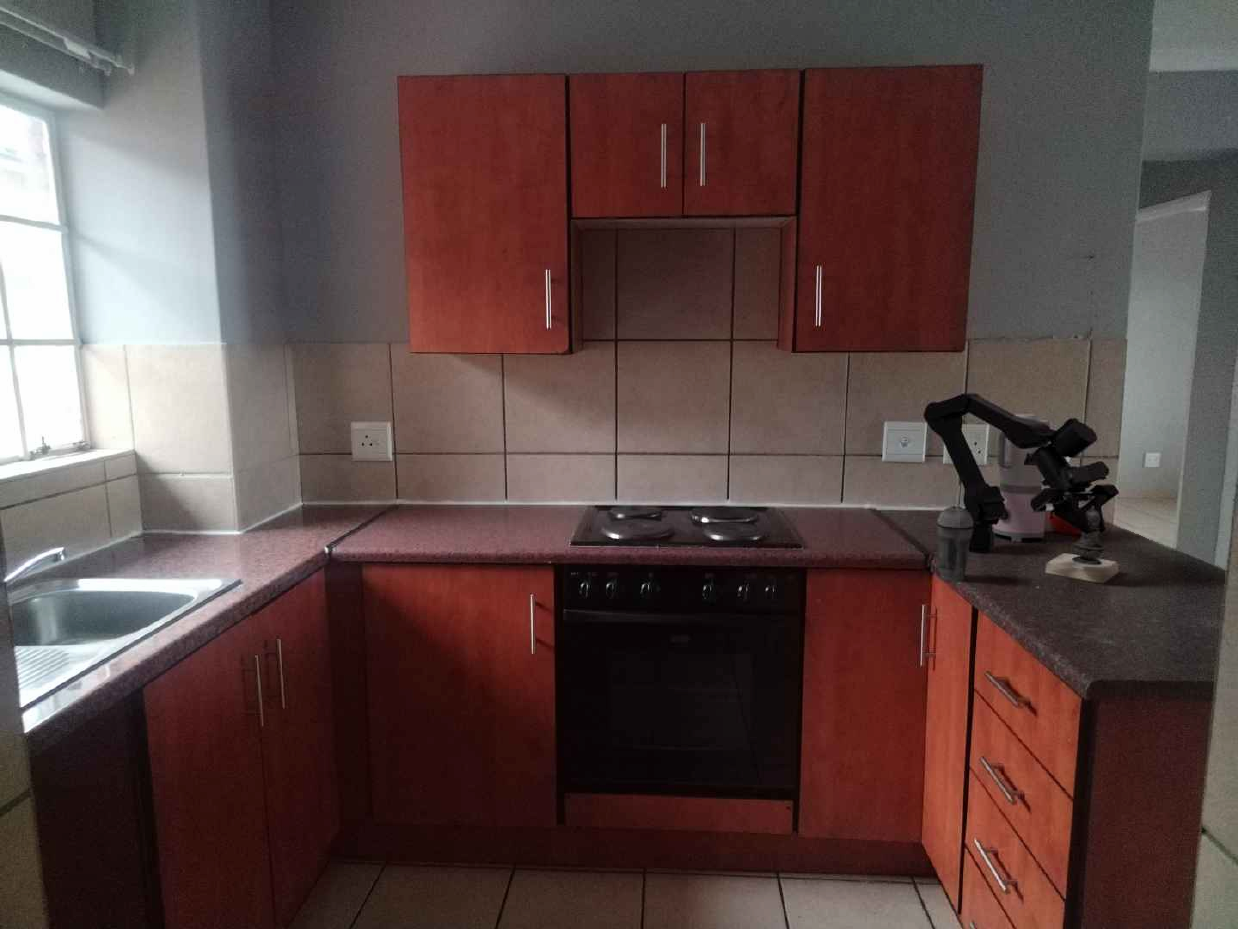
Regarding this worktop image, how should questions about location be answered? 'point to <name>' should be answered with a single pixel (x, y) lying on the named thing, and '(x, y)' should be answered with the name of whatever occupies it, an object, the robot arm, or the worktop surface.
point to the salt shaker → (1089, 541)
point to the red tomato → (1062, 525)
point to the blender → (1019, 490)
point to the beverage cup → (954, 540)
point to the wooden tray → (1082, 568)
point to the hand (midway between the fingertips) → (1096, 532)
